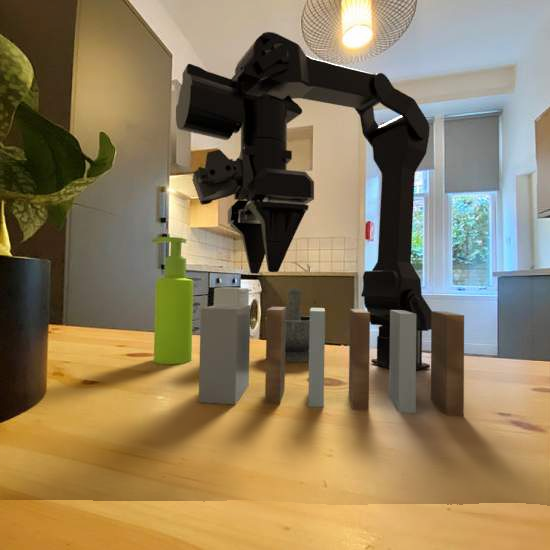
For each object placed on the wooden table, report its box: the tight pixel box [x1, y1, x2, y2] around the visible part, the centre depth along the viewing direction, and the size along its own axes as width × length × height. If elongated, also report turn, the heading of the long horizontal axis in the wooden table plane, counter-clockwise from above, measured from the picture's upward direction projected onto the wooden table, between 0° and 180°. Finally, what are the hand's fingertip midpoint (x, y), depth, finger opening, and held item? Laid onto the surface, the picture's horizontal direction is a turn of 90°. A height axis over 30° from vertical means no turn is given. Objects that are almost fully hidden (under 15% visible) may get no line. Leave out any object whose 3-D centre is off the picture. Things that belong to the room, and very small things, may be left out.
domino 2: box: [307, 307, 326, 408], centre depth 39 cm, size 2×5×10 cm, turn 172°
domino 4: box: [388, 310, 417, 414], centre depth 38 cm, size 2×5×10 cm, turn 173°
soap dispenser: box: [150, 236, 194, 365], centre depth 57 cm, size 6×7×20 cm
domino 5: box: [430, 310, 465, 417], centre depth 37 cm, size 2×5×10 cm, turn 173°
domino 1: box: [264, 306, 287, 405], centre depth 39 cm, size 2×5×10 cm, turn 173°
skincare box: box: [213, 287, 250, 306], centre depth 57 cm, size 6×4×12 cm
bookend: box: [198, 304, 251, 405], centre depth 40 cm, size 4×7×10 cm, turn 173°
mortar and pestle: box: [264, 287, 310, 363], centre depth 61 cm, size 11×9×12 cm
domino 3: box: [348, 308, 371, 411], centre depth 38 cm, size 2×5×10 cm, turn 173°
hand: (262, 272), depth 43 cm, fingers open, 9 cm apart
